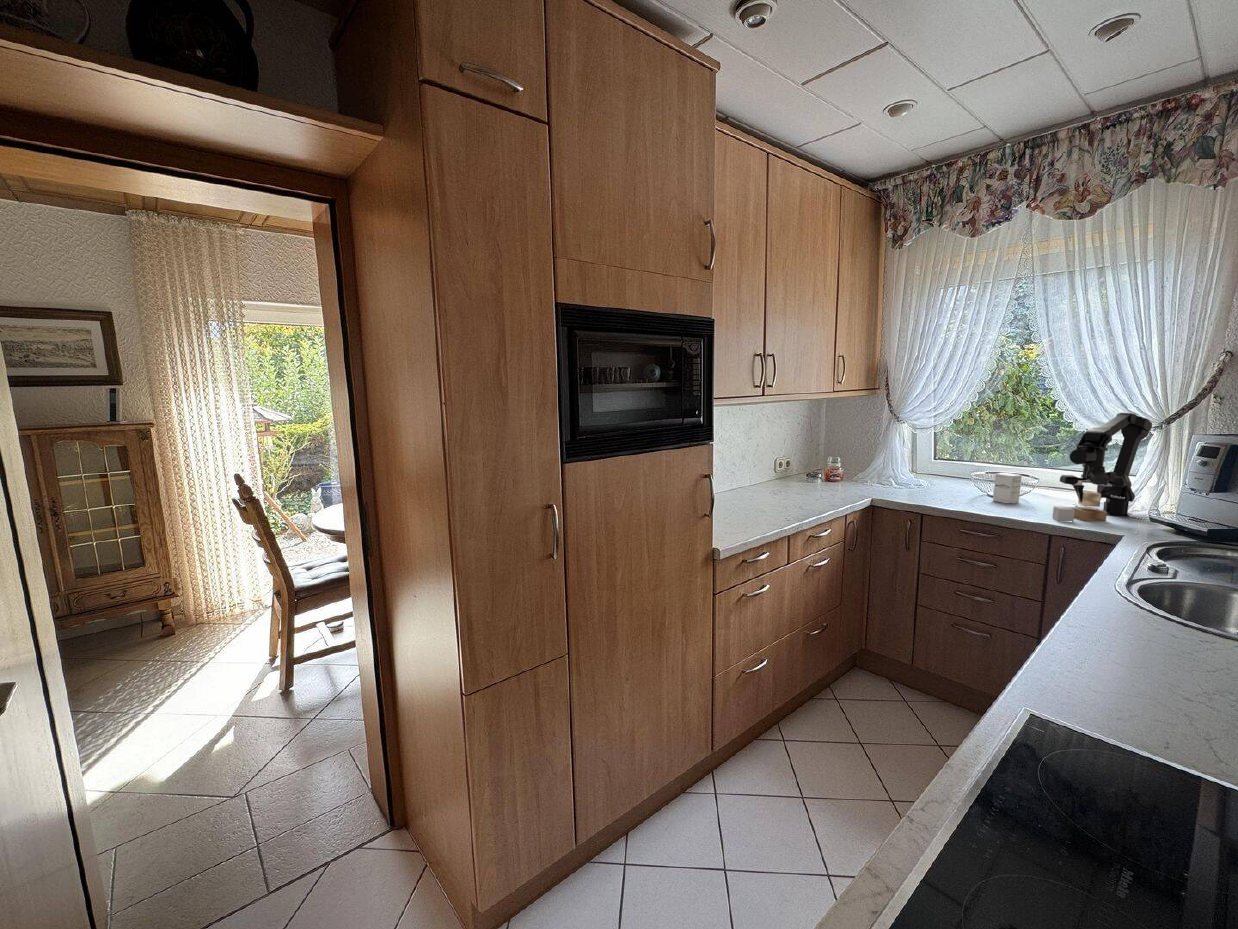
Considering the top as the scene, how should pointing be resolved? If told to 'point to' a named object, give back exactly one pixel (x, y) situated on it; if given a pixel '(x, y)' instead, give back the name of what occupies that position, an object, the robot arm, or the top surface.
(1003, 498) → the supplement box
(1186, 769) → the top surface
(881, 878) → the top surface
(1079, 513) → the walnut block
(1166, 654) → the top surface
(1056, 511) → the grey plastic cube
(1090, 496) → the birch cube
